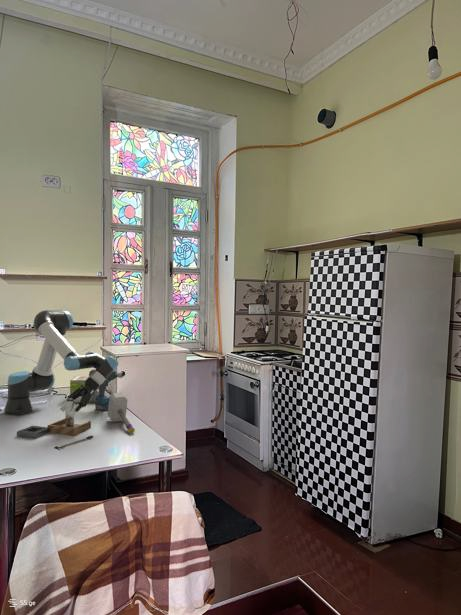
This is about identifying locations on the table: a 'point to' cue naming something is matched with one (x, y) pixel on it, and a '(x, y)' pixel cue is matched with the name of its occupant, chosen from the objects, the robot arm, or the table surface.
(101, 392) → the impact wrench
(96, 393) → the grey box
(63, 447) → the tan and black strip
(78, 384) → the tea box
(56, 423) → the brown wooden tray
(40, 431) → the socket
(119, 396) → the hammer
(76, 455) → the table surface
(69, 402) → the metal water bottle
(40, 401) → the table surface
